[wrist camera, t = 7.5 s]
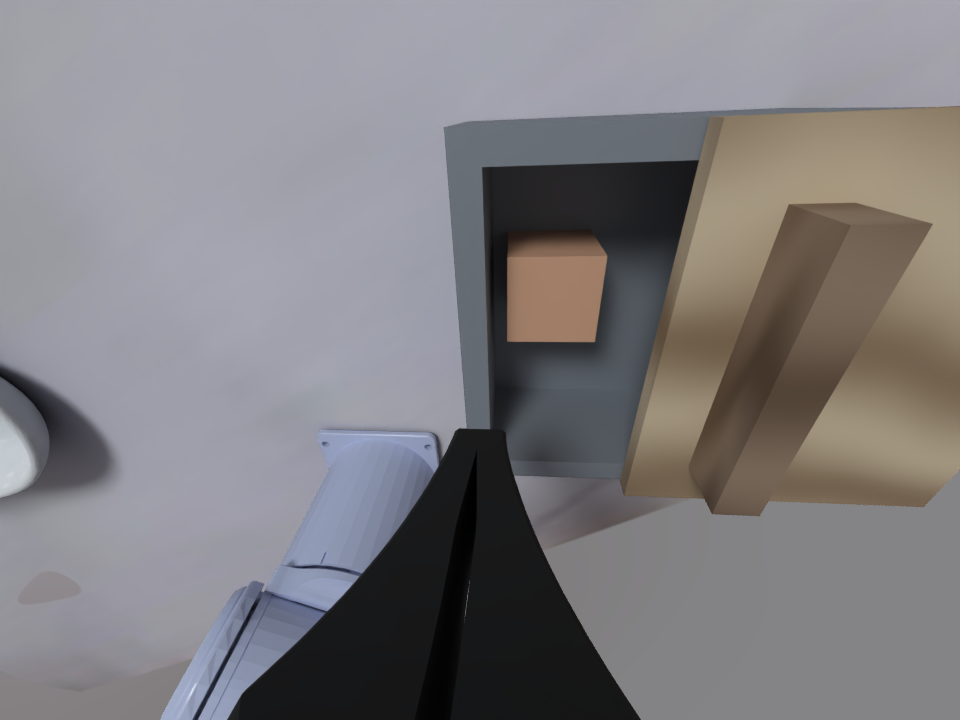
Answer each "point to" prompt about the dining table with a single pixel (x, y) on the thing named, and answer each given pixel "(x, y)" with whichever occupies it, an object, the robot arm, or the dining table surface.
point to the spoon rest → (20, 441)
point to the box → (567, 274)
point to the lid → (810, 317)
